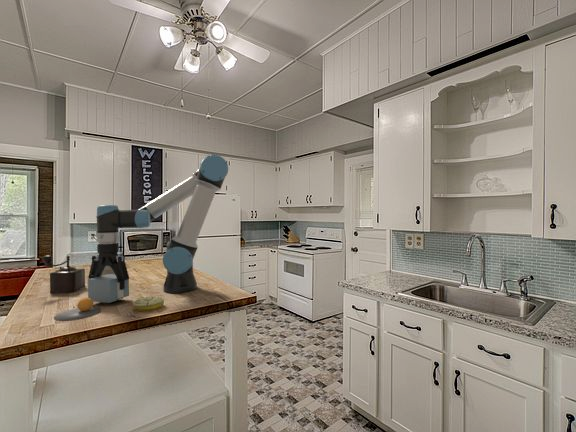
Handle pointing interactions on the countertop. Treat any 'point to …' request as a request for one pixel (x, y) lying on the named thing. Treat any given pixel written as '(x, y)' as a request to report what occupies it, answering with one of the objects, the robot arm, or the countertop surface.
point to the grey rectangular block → (105, 288)
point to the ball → (85, 304)
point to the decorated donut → (148, 304)
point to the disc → (76, 314)
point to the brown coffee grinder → (65, 277)
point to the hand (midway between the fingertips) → (108, 296)
